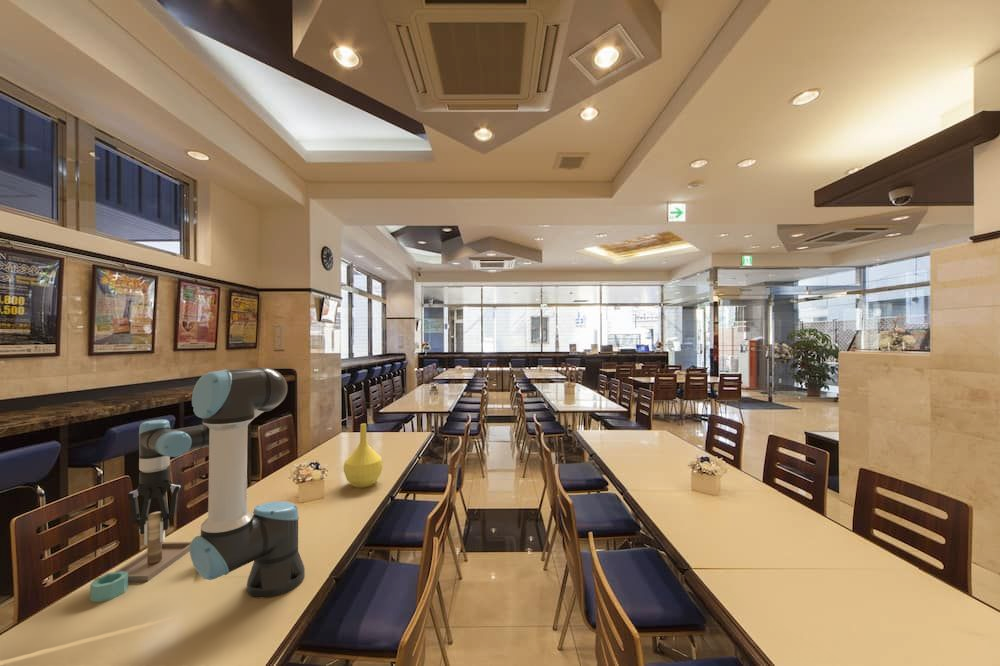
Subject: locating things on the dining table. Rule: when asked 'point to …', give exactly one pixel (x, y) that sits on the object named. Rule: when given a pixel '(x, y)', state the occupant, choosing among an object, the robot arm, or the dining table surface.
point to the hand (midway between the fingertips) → (154, 541)
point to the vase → (363, 463)
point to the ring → (108, 586)
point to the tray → (145, 571)
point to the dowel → (154, 538)
